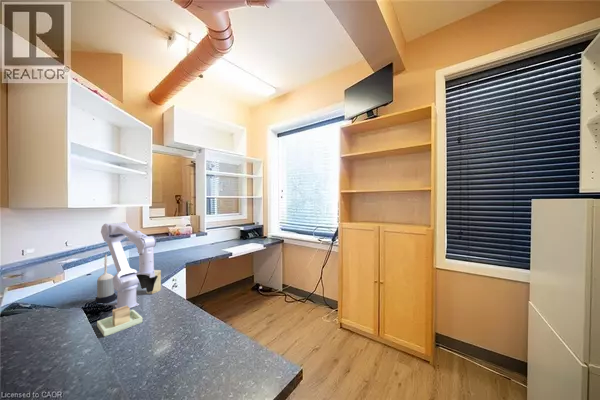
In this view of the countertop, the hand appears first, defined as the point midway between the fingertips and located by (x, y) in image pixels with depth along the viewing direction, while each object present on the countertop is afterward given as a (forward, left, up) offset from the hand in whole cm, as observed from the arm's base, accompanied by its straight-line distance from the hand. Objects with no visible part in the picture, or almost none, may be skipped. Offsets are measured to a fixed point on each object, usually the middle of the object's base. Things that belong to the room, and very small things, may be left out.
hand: (147, 289), depth 104 cm
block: (+4, -11, -10) cm, 15 cm away
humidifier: (-32, -9, -11) cm, 35 cm away
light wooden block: (-24, +11, -11) cm, 29 cm away
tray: (+4, -11, -10) cm, 16 cm away
